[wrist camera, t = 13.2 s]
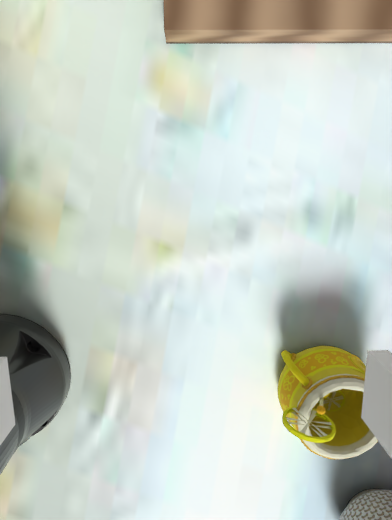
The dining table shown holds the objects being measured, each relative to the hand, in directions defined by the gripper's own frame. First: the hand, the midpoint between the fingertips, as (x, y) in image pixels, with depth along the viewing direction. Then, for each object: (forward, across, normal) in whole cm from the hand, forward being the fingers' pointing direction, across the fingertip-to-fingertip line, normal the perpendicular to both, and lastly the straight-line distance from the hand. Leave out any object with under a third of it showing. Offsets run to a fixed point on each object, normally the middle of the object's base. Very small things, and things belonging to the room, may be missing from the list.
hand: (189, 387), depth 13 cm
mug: (+29, +15, -16) cm, 36 cm away
